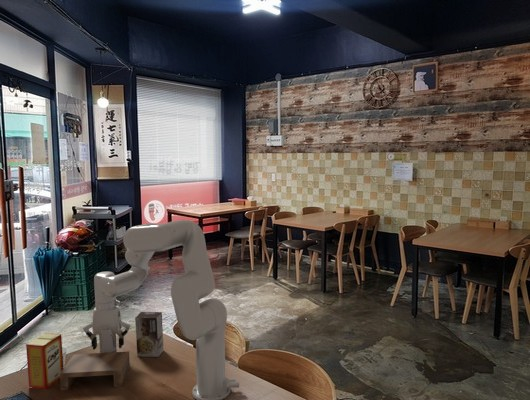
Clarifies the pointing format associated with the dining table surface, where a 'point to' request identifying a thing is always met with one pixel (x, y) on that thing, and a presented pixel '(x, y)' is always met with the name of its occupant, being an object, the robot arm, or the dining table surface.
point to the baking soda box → (44, 360)
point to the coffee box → (149, 334)
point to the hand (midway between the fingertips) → (108, 347)
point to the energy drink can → (107, 341)
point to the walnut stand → (95, 367)
